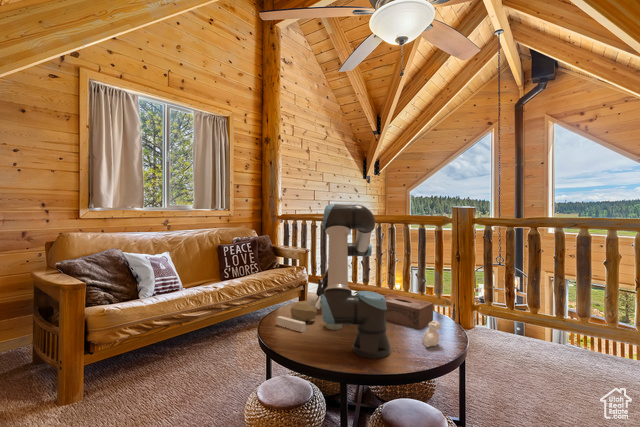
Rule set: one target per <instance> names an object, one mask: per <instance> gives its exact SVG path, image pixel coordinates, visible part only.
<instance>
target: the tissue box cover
mask: <svg viewBox="0 0 640 427" xmlns="http://www.w3.org/2000/svg"><path fill="white" fill-rule="evenodd" d="M383 296H384V297H385V299H386V307H387V309H386V321H389V322H392V323H395V324H399V325H402V326H405V325H406V326H405V327H409V328H413V329H416V330H422V329H423V328H425V327H427V326H428V324H429V323H430V322H432V321H433V320H434V302H431V301H426V300H420V299H416V298H411V297H406V296H402V295H398V294H392V293H387V294H384V295H383ZM426 325H427V326H426Z"/></svg>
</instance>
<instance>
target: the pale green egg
mask: <svg viewBox="0 0 640 427" xmlns="http://www.w3.org/2000/svg"><path fill="white" fill-rule="evenodd" d="M325 328H327V329H329V330H334V331H335V330H337V331H338V330H341V329H343V325H340V324H335V325H334V324H326V323H325Z"/></svg>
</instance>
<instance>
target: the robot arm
mask: <svg viewBox="0 0 640 427" xmlns="http://www.w3.org/2000/svg"><path fill="white" fill-rule="evenodd" d="M375 227H376V217H375V216H374V214H373V212H372V211H371V210H370V209H368V208H367V207H366V206H365V205H362V204H356V203H355V204H336V203H335V204H328V205H326V206H325V208H324V212H323V216H322V229H323V230H325V233H326V235H328V255H327V256H328V259H327V261H328V263H327V264H328V265H327V269H326V272H325V274H324V277H323V278H322V279H317V280H318V281H317V282H318V285H317V289H316V292H315V293H316V294H317V300H316V301H317V303H316V305H315V308H316V310H320V309H321V315H322V321H323V322H324V324H325V325H326V324H334V325H335V324H340V325H342V326H343V325H345V326H346V325H349V326H350V325H351V326H356V329H357V330H356V333H355V336H354V340H353V343H352V350H353V352H354V353H355V354H356V355H358V356H359V357H362V358H368V359H383V358H387V357H388V356H389V355H390V354H391V343H390V341H389V338H388V334H387V320H386V309H387V307H386V299H385V297H384V295H382V294H381V293H379V292H376V291H375V292H374V291H370V290H359V291H357V293H356V295H355V294H352V293H353V291H352V290H351V288H350V287H349V271H348V270H349V266H348V265H349V258H348V257H371V256H372V252H373V250H372V248H373V247H372V244H371V243H370V241H371V239H372V238H371V237H372V232H373V231H374V229H375ZM352 230H356V235H355V242H354V243H353V242H348V239H349V238H348V237H349V235H350V234H351V233H352Z"/></svg>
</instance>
